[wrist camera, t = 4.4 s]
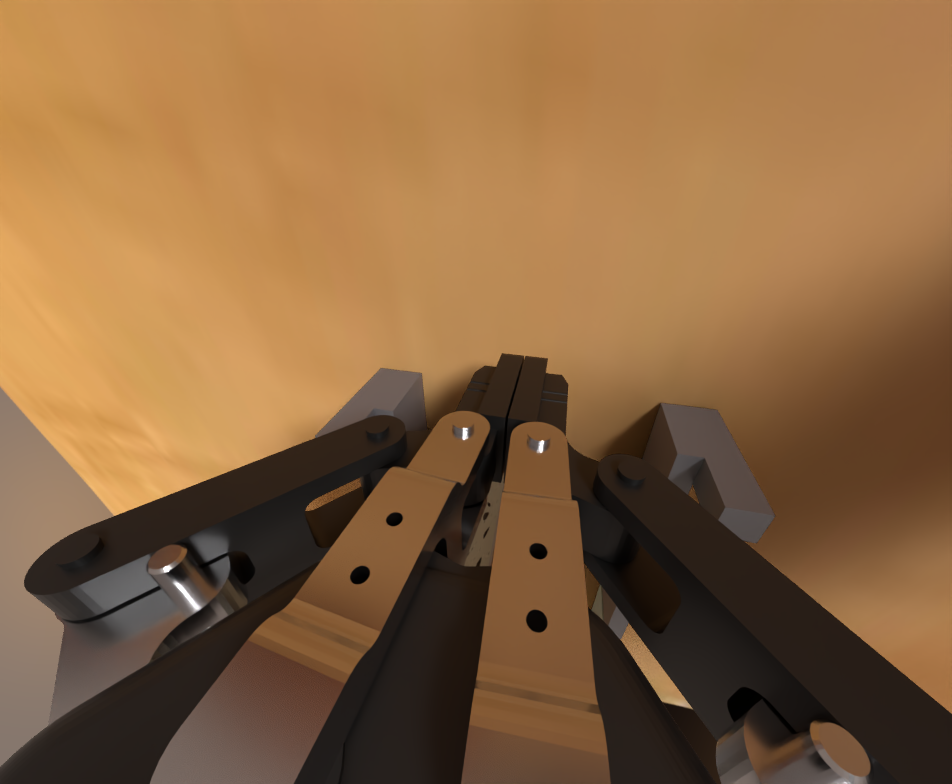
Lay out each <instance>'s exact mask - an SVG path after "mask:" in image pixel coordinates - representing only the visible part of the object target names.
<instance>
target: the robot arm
mask: <svg viewBox="0 0 952 784" xmlns="http://www.w3.org/2000/svg"><path fill="white" fill-rule="evenodd" d="M547 360H548V358H539V357H530V356H525V360H524V356H521V355H513V354H504V353H502V355H501V357H500V360H499V362H498V364H497V367H491V366H484V367H482V368H481V369H479V370H478V371H476V372H475V374H474V376H473V378H472V380H471V383H470V384H469V385H468V387H467V390H466V391H465V393H464V395H463V397H462V399H461V401H460V403H459V405H458V407H457V409H456V411H455V412H453V413H449V414H447V415H445V416H444V417H442V418H441V419H440V420H439V421H438V423H437V424H436V426H435V427H434V429H431V430H424V431H408V432H406V429H405V425H404V423H403V422H402V421H401V420H400V419H398V418H397V417H394V416H389V415H378V416H372V417H369V418H366V419H363V420H361V421H358V422H356V423H353V424H350V425H348V426H345V427H343V428H340V429H338V430H335V431H332V432H330V433H327V434H325V435H322V436H320V437H317V438H314V439H312V440H309V441H307V442H304V443H302V444H299V445H296V446H294V447H291V448H289V449H286V450H284V451H281V452H278V453H276V454H273V455H271V456H268V457H266V458H263V459H260V460H258V461H255V462H253V463H250V464H248V465H245V466H242V467H240V468H237V469H235V470H232V471H230V472H227V473H224V474H222V475H219V476H217V477H214V478H211V479H209V480H206V481H204V482H201V483H199V484H196V485H193V486H191V487H188V488H186V489H183V490H181V491H178V492H175V493H173V494H170V495H168V496H165V497H163V498H160V499H157V500H155V501H152V502H150V503H147V504H145V505H142V506H139V507H137V508H134V509H132V510H129V511H127V512H124V513H121V514H119V515H116V516H114V517H111V518H109V519H106V520H104V521H101V522H99V523H96V524H93V525H91V526H88V527H86V528H83V529H81V530H79V531H77V532H75V533H73V534H71V535H69V536H67V537H65V538H64V539H62V540H60V541H59V542H57V543H56V544H55V545H53V546H52V547H50V548H49V549H48V550H47V551H45V552H44V553H43V554H42V555H41V556H40V557H39V558H38V559H37V560H36V561H35V562H34V563H33V565H32V566H31V568H30V569H29V570H28V573H27V574H26V576H25V580H24V586H25V588H26V590H27V591H28V592H30V593H31V594H32V595H34V596H35V597H36V598H37V599H38V600H40V601H41V602H42V603H44V604H45V605H46V606H47V607H49V608H50V609H51V610H52V611H53V612H55V615H56V617H57V619H59V620H60V621H61V622H62V623H63V624H64V632H63V639H62V645H61V651H60V657H59V663H58V670H57V675H56V682H55V688H54V694H53V700H52V707H51V712H50V719H49V725H48V726H47V727H46V728H45V729H43V730H42V731H41V732H40V733H38V734H37V735H36V736H34V737H33V738H32V739H31V740H30V741H28V742H27V743H26V744H25V745H24V746H23V747H21V748H20V749H19V750H18V751H17V752H16V753H14V754H13V755H12V756H11V757H10V758H9V759H8V760H7V761H6V762H5V763H4V764H3V765H2V766H1V767H0V784H716V783H715V781H714V780H713V778H712V777H711V775H710V774H709V772H708V771H707V769H706V767H705V766H704V765H703V763H702V762H701V760H700V758H699V757H698V755H697V754H696V752H695V751H694V749H693V748H692V746H691V745H690V743H689V742H688V740H687V739H686V737H685V736H684V734H683V733H682V731H681V730H680V728H679V727H678V725H677V724H676V722H675V721H674V719H673V718H672V716H671V715H670V713H669V712H668V710H667V709H666V707H665V706H664V704H663V703H662V701H661V700H660V698H659V697H658V695H657V694H656V692H655V690H654V689H653V687H652V686H651V684H650V683H649V681H648V680H647V678H646V677H645V675H644V674H643V672H642V671H641V669H640V668H639V666H638V665H637V663H636V662H635V660H634V659H633V657H632V656H631V654H630V653H629V651H628V650H627V648H626V647H625V646H624V644H623V643H622V641H621V640H620V639H619V638H618V636H617V635H616V634H615V633H614V632H613V630H612V629H611V628H610V627H609V626H608V625H607V624H606V623H605V622H604V621H603V620H602V619H601V618H600V617H599V616H598V615H597V614H595V613H594V612H593V611H592V610H590V609H589V608H588V605H587V594H586V583H585V572H584V563H585V564H586V566H587V567H588V569H589V570H590V571H591V573H592V574H593V575H594V577H595V578H596V579H597V581H598V582H599V583H600V585H601V586H602V587H603V589H604V590H605V591H606V593H607V594H608V595H609V597H610V598H611V599H612V601H613V602H614V603H615V605H616V606H617V607H618V609H619V610H620V611H621V613H622V614H623V616H624V617H625V618H626V620H627V621H628V622H629V624H630V625H631V626H632V628H633V629H634V630H635V632H636V633H637V634H638V636H639V637H640V638H641V640H642V641H643V642H644V644H645V645H646V646H647V648H648V649H649V650H650V652H651V653H652V654H653V656H654V657H655V658H656V660H657V661H658V663H659V664H660V665H661V667H662V668H663V669H664V671H665V672H666V673H667V675H668V676H669V677H670V679H671V680H672V681H673V683H674V684H675V685H676V687H677V688H678V689H679V691H680V692H681V693H682V695H683V696H684V697H685V699H686V700H687V701H688V703H689V704H690V705H691V707H692V708H693V710H694V711H695V712H696V714H697V715H698V716H699V718H700V719H701V720H702V722H703V723H704V724H705V726H706V727H707V728H708V730H709V731H710V732H711V734H712V735H713V736H714V738H715V739H716V740H717V742H718V743H717V747H716V762H717V769H718V773H719V777H720V780H721V783H722V784H952V714H951V713H950V712H949V711H947V710H946V709H945V708H944V707H943V706H941V705H940V704H939V703H938V702H937V701H935V700H934V699H933V698H932V697H931V696H929V695H928V694H927V693H926V692H925V691H923V690H922V689H921V688H920V687H919V686H917V685H916V684H915V683H914V682H913V681H911V680H910V679H909V678H908V677H907V676H905V675H904V674H903V673H902V672H901V671H899V670H898V669H897V668H896V667H894V666H893V665H892V664H891V663H890V662H888V661H887V660H886V659H885V658H884V657H882V656H881V655H880V654H879V653H878V652H876V651H875V650H874V649H873V648H872V647H870V646H869V645H868V644H867V643H866V642H864V641H863V640H862V639H861V638H860V637H858V636H857V635H856V634H855V633H854V632H852V631H851V630H850V629H849V628H848V627H846V626H845V625H844V624H843V623H841V622H840V621H839V620H838V619H837V618H835V617H834V616H833V615H832V614H831V613H829V612H828V611H827V610H826V609H825V608H823V607H822V606H821V605H820V604H819V603H817V602H816V601H815V600H814V599H813V598H811V597H810V596H809V595H808V594H807V593H805V592H804V591H803V590H802V589H801V588H799V587H798V586H797V585H796V584H795V583H793V582H792V581H791V580H790V579H789V578H787V577H786V576H785V575H784V574H782V573H781V572H780V571H779V570H778V569H776V568H775V567H774V566H773V565H772V564H770V563H769V562H768V561H767V560H766V559H764V558H763V557H762V556H761V555H760V554H758V553H757V552H756V551H755V550H754V549H752V548H751V547H750V546H749V545H748V544H746V543H745V542H744V541H743V540H742V539H740V538H739V537H738V536H737V535H736V534H734V533H733V532H732V531H731V530H729V529H728V528H727V527H726V526H725V525H723V524H722V523H721V522H720V521H719V520H717V519H716V518H715V517H714V516H713V515H711V514H710V513H709V512H708V511H707V510H705V509H704V508H703V507H702V506H701V505H699V504H698V503H697V502H696V501H695V500H693V499H692V498H691V497H690V496H689V495H687V494H686V493H685V492H684V491H683V490H681V489H680V488H679V487H678V486H676V485H675V484H674V483H673V482H672V481H670V480H669V479H668V478H667V477H666V476H664V475H663V474H662V473H661V472H660V471H658V470H657V469H656V468H655V467H654V466H652V465H651V464H650V463H648V462H646V461H644V460H642V459H640V458H638V457H635V456H631V455H626V454H613V455H609V456H607V457H605V458H603V459H602V460H601V461H600V462H598V461H595V460H593V459H590V458H588V457H586V456H583V455H582V454H580V453H578V452H577V451H576V450H574V449H573V448H572V447H571V445H570V444H569V443H568V441H567V438H566V416H567V397H568V396H567V395H568V383H567V382H566V380H565V379H564V377H563V376H562V375H556V374H548V373H546V368H547ZM503 473H504V482H503V483H504V491H502V497H501V504H500V511H499V519H498V526H497V533H496V541H495V548H494V555H493V563H492V566H464V565H465V561H466V558H467V555H468V553H469V550H470V547H471V545H472V542H473V539H474V537H475V534H476V531H477V529H478V526H479V523H480V521H481V518H482V515H483V513H484V510H485V507H486V505H487V495H488V494H489V491H490V488H491V484H492V481H493V482H498V483H501V481H502V477H503ZM358 478H360V483H361V487H360V488H358V489H356V490H353V491H351V492H349V493H347V494H345V495H343V496H341V497H339V498H337V499H335V500H333V501H331V502H329V503H327V504H325V505H323V506H321V507H319V508H317V509H315V510H312V511H305V510H306V507H307V506H308V505H309V504H310V503H311V502H312V501H313V500H314V499H316V498H318V497H320V496H322V495H324V494H326V493H328V492H330V491H332V490H335V489H337V488H339V487H341V486H343V485H345V484H347V483H349V482H351V481H353V480H356V479H358Z"/></svg>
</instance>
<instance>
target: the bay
mask: <svg viewBox="0 0 952 784" xmlns="http://www.w3.org/2000/svg"><path fill="white" fill-rule="evenodd" d="M378 415H389V416H394V417H397V418H398V419H400V420H401V421H402V422H403V423H404V425H405V429H406V432H408V431H424V430H427V422H426V412H425V402H424V392H423V382H422V373H416V372H408V371H400V370H392V369H384V368H381V369H380V370H379V371H378V372H377V373H376V374H375V375H374V376H373V377H372V378H371V379H370V380H369V381H368V382H367V383H366V384H365V385H364V386H363V387H362V388H361V389H360V390H359V391H358V392H357V393H356V394H355V395H354V396H353V397H352V398H351V400H350V401H349V402H348V403H347V404H346V405H345V406H344V407H343V408H342V409H341V410H340V411H339V412H338V413H337V414H336V415H335V416H334V417H333V418H332V419H331V420H330V421H329V422H328V423H327V424H326V425H325V426H324V427H323V428H322V429H321V430H320V431H319V432H318V433H317V435H316V436H315V437H316V438H317V437H320V436H322V435H325V434H327V433H330V432H332V431H335V430H338V429H340V428H343V427H345V426H348V425H350V424H353V423H356V422H358V421H361V420H363V419H366V418H369V417H372V416H378ZM642 460H644V461H646V462H648V463H650V464H651V465H652V466H654V467H655V468H656V469H657V470H658V471H660V472H661V473H662V474H663V475H664V476H666V477H667V478H668V479H669V480H670V481H672V482H673V483H674V484H675V485H676V486H678V487H679V488H680V489H681V490H683V491H684V492H685V493H686V494H687V495H688V493H689V491H690V489H691V487H692V485H693V486H694V489H695V492H696V495H697V498H698V501H699V504H700V505H701V506H702V507H703V508H704V509H705V510H707V511H708V512H709V513H710V514H711V515H713V516H714V517H715V518H716V519H717V520H719V521H720V522H721V523H722V524H723V525H725V526H726V527H727V528H728V529H729V530H731V531H732V532H733V533H734V534H736V535H737V536H738V537H739V538H740V539H742V540H743V541H746V542H752V543H757V542H758V541H759V539H760V538H761V536H762V535H763V533H764V532H765V530H766V529H767V528H768V526H769V525H770V523H771V522H772V520H773V519H774V517H775V514H774V512H773V510H772V509H771V507H770V505H769V503H768V501H767V499H766V498H765V496H764V494H763V492H762V490H761V489H760V487H759V485H758V483H757V481H756V479H755V478H754V476H753V474H752V472H751V470H750V468H749V467H748V465H747V463H746V461H745V459H744V458H743V456H742V454H741V452H740V450H739V448H738V447H737V445H736V443H735V441H734V439H733V437H732V436H731V434H730V432H729V430H728V428H727V427H726V425H725V423H724V421H723V419H722V417H721V416H720V414H719V412H718V410H714V409H706V408H698V407H690V406H682V405H674V404H666V403H661V404H660V407H659V410H658V413H657V416H656V419H655V422H654V425H653V428H652V431H651V434H650V437H649V440H648V443H647V446H646V449H645V452H644V455H643V458H642ZM602 592H603V613H604V622H605V623H606V624H607V625H608V626H609V627H610V628H611V629H612V630H613V632H614V633H615V634H616V635H617V636H618V638H619V639H621V638H622V636H623V634H624V632H625V630H626V627H627V625H628V623H629V622H628V621H627V620H626V618H625V617H624V616H623V614H622V613H621V611H620V610H619V609H618V607H617V606H616V605H615V603H614V602H613V601H612V599H611V598H610V597H609V595H608V594H607V593H606V591H605V590H604V589H603V587H602Z"/></svg>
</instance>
